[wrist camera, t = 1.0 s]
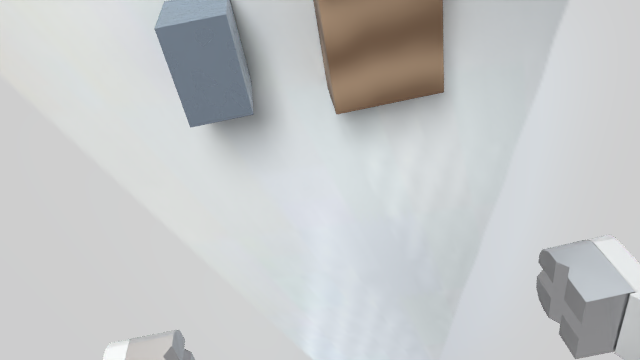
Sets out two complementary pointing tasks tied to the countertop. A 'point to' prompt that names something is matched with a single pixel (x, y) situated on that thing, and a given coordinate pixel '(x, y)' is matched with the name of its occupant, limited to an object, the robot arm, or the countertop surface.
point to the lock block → (205, 59)
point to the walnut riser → (380, 50)
